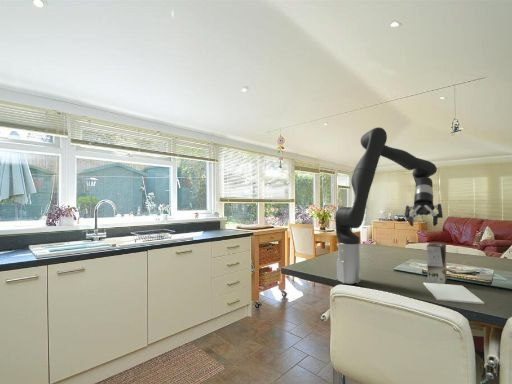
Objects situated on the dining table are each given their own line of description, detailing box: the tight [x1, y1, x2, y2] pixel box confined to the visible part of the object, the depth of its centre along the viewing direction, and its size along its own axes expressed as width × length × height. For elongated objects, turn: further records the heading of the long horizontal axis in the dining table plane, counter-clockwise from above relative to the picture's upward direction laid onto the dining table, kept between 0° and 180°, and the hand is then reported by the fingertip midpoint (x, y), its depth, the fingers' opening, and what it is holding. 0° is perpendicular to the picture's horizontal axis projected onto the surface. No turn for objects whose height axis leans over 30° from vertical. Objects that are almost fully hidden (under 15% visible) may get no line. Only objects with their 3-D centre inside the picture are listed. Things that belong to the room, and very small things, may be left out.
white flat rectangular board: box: [422, 282, 485, 305], centre depth 103 cm, size 18×14×1 cm
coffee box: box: [426, 242, 448, 284], centre depth 117 cm, size 9×6×16 cm
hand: (422, 225), depth 116 cm, fingers open, 8 cm apart
